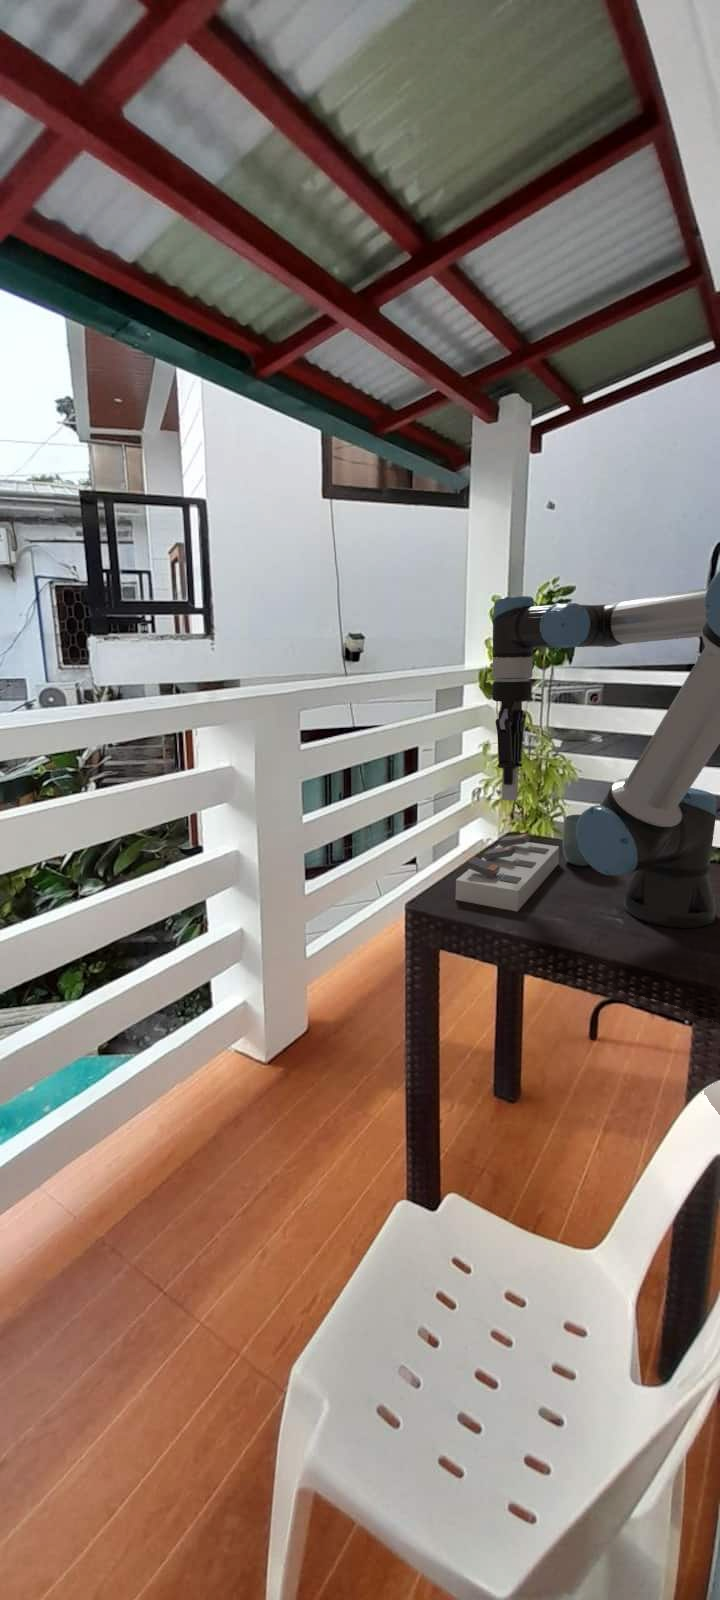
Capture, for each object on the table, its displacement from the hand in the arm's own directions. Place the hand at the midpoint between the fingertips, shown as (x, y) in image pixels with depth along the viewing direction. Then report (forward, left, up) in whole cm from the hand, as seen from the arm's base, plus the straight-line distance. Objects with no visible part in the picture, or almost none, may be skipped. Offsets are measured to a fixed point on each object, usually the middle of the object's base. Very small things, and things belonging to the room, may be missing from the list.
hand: (509, 799), depth 140 cm
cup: (-11, -18, -17) cm, 27 cm away
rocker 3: (+1, -10, -11) cm, 15 cm away
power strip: (-1, -4, -17) cm, 17 cm away
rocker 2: (+1, 0, -11) cm, 11 cm away
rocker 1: (+1, +10, -11) cm, 15 cm away
